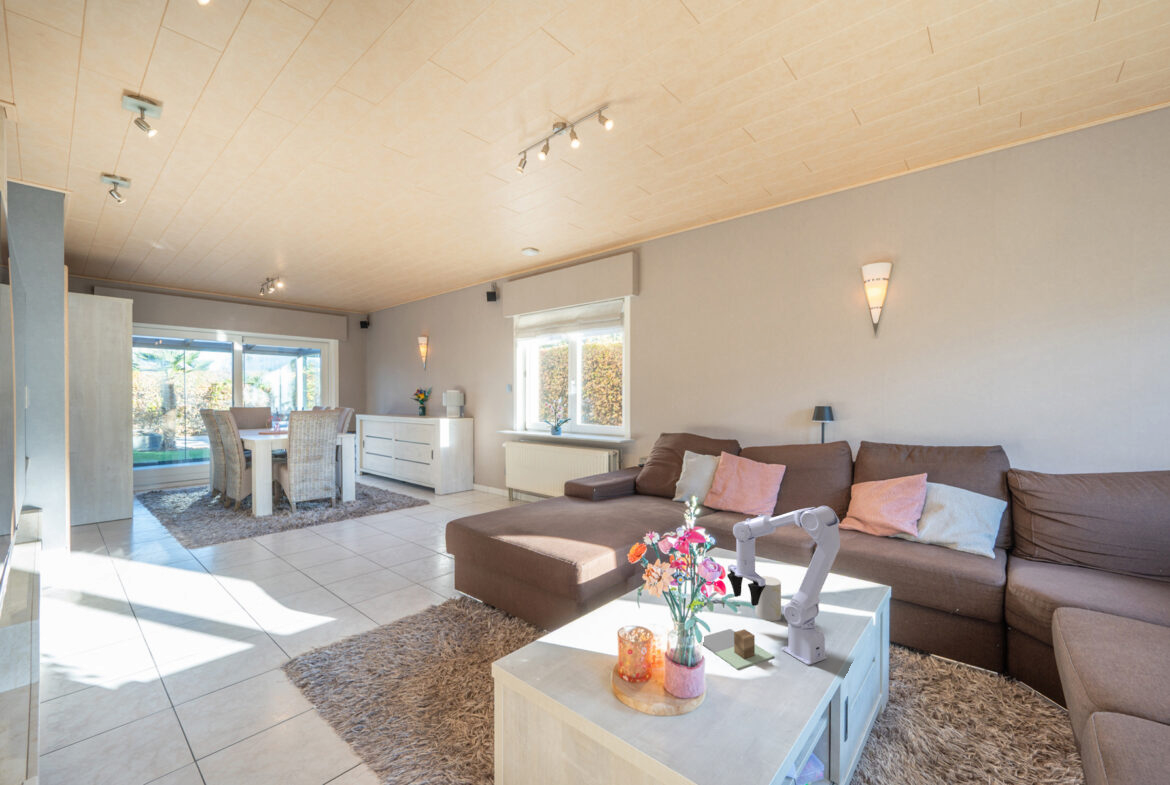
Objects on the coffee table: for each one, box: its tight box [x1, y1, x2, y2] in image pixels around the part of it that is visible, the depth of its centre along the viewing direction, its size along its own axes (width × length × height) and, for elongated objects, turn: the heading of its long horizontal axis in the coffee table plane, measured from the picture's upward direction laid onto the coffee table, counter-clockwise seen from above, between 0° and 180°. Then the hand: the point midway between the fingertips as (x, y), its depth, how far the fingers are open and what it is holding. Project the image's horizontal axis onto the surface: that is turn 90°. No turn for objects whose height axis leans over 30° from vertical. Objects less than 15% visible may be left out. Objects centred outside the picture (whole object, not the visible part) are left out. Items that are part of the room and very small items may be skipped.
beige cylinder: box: [755, 575, 782, 622], centre depth 166 cm, size 8×8×12 cm
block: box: [734, 629, 756, 659], centre depth 140 cm, size 4×4×6 cm
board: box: [702, 628, 775, 670], centre depth 144 cm, size 18×14×1 cm
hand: (746, 600), depth 156 cm, fingers open, 7 cm apart
